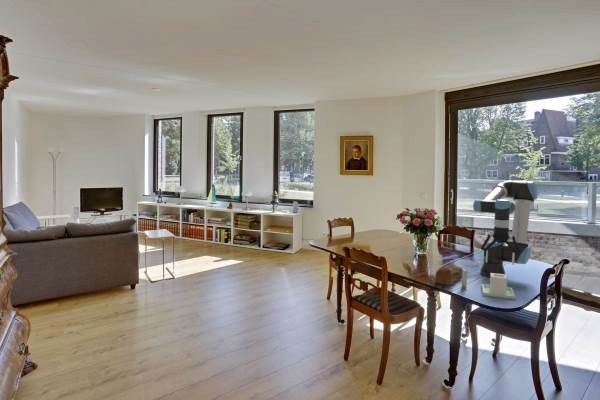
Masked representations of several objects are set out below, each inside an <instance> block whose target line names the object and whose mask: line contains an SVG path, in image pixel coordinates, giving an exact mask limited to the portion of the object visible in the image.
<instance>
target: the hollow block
mask: <svg viewBox="0 0 600 400" xmlns="http://www.w3.org/2000/svg"><path fill="white" fill-rule="evenodd" d="M489 285H490V293H496V294H504V295H506V291H507V287H508V276H507V274H506V273H505V274H496V273H490V277H489Z"/></svg>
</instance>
